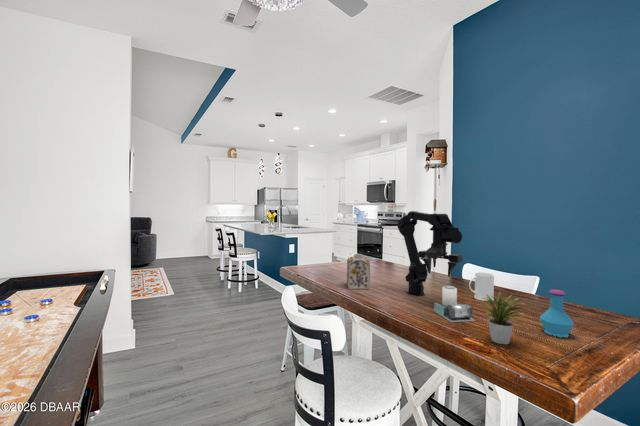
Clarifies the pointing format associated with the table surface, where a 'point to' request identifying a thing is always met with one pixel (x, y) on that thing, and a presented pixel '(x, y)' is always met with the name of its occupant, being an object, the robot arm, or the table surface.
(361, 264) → the decorative jar
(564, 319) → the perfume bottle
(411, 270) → the robot arm
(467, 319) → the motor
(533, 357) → the table surface
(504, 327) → the house plant
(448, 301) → the white cylinder
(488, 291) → the mug
